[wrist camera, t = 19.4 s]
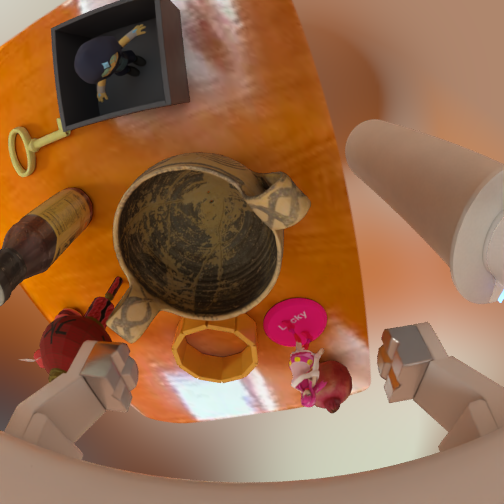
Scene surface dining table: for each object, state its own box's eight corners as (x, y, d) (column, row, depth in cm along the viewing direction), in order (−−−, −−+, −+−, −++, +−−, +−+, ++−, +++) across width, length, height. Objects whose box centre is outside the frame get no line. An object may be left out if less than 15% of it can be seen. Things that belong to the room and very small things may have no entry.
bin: (179, 10, 26) (159, -12, 18) (190, 101, 31) (171, 104, 24) (89, 36, 26) (50, 28, 19) (99, 121, 32) (62, 132, 24)
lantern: (105, 307, 45) (29, 475, 19) (81, 256, 41) (-32, 425, 15) (157, 302, 45) (96, 498, 18) (136, 246, 40) (29, 450, 14)
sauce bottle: (68, 231, 39) (-15, 319, 21) (52, 191, 36) (-45, 265, 18) (103, 221, 38) (21, 316, 21) (88, 178, 35) (-13, 253, 18)
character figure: (129, 106, 31) (77, 117, 20) (102, 92, 30) (43, 99, 19) (170, 38, 27) (131, 15, 17) (141, 25, 26) (93, 1, 16)
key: (79, 130, 32) (70, 132, 30) (25, 180, 35) (17, 185, 33) (55, 87, 29) (46, 88, 27) (4, 142, 32) (-5, 145, 30)
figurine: (302, 285, 43) (320, 368, 30) (338, 323, 46) (361, 401, 33) (250, 321, 46) (249, 405, 33) (289, 353, 50) (298, 431, 36)
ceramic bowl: (192, 300, 44) (173, 382, 31) (105, 217, 38) (47, 279, 25) (323, 206, 37) (360, 272, 24) (233, 95, 31) (219, 95, 18)
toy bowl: (252, 298, 44) (253, 321, 40) (260, 358, 50) (260, 381, 46) (169, 303, 45) (162, 326, 40) (188, 361, 51) (184, 383, 46)
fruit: (296, 358, 50) (302, 406, 41) (342, 344, 49) (355, 391, 40) (307, 384, 54) (314, 428, 45) (349, 371, 52) (361, 415, 44)
